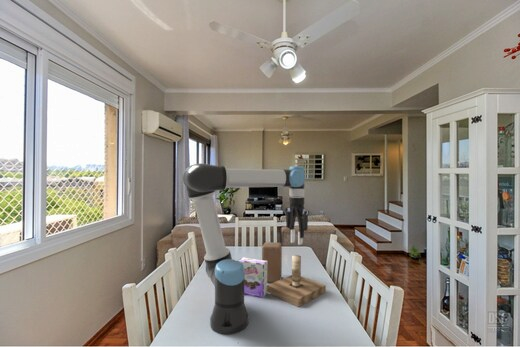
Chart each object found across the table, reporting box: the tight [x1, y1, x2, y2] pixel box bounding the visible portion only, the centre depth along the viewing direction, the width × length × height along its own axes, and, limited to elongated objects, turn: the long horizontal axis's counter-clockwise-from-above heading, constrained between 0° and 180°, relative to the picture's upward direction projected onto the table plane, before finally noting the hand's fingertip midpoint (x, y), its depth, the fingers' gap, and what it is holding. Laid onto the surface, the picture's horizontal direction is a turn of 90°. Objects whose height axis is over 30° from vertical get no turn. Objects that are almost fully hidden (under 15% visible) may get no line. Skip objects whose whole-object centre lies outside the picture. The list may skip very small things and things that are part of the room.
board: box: [267, 274, 326, 308], centre depth 131 cm, size 22×20×4 cm
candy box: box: [238, 256, 268, 299], centre depth 130 cm, size 14×6×16 cm, turn 68°
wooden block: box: [261, 241, 283, 284], centre depth 146 cm, size 10×10×20 cm
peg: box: [291, 254, 302, 288], centre depth 131 cm, size 5×5×18 cm
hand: (296, 243), depth 131 cm, fingers open, 4 cm apart
